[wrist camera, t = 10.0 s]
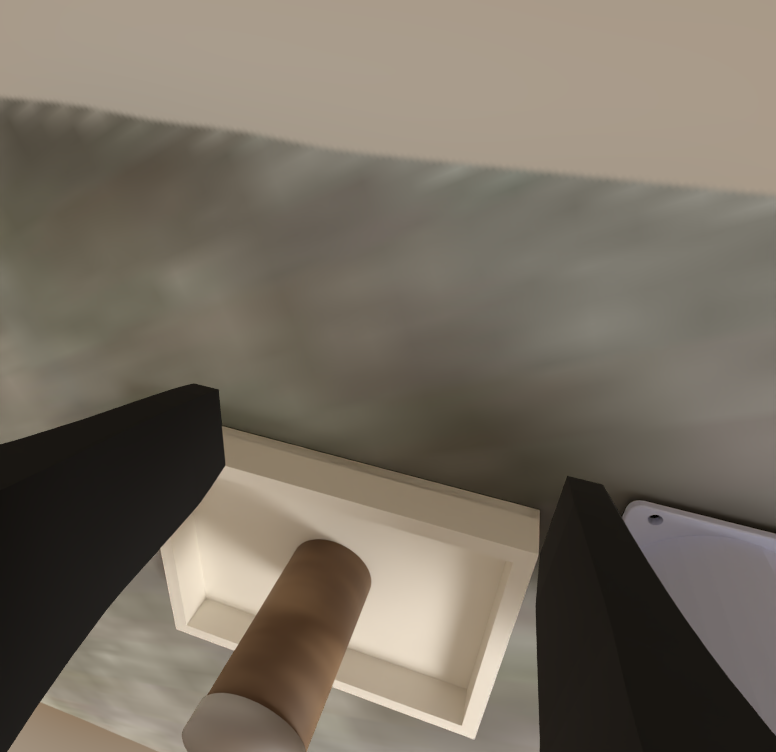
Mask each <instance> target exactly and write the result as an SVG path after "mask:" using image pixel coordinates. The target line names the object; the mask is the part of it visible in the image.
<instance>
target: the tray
mask: <svg viewBox="0 0 776 752" xmlns="http://www.w3.org/2000/svg"><path fill="white" fill-rule="evenodd" d="M222 432H223V443H224V453H225V464H226V465H225V467H224V468H223V470H222V471H221V473H220V475H219V476H218V478H217V479H216V481H215V482H214V484H213V485H212V487H211V488H210V490H209V491H208V493H207V494H206V495H205V497H204V498H203V500H202V501H201V502H200V504H199V505H198V506H197V507H196V509H195V510H194V511H193V512H192V513H191V514H190V515H189V517H188V518H187V519H186V520H185V521H184V522H183V523H182V525H181V526H180V527H179V528H178V529H177V530H176V531H175V533H174V534H173V535H172V536H171V537H170V538H169V539H168V540H167V541H166V543H165V544H164V545H163V546H162V547H161V548H160V550H161V555H162V560H163V565H164V570H165V575H166V580H167V585H168V590H169V595H170V600H171V605H172V610H173V615H174V620H175V625H176V629H177V630H180V631H183V632H185V633H188V634H191V635H193V636H196V637H199V638H202V639H204V640H207V641H210V642H212V643H215V644H218V645H220V646H223V647H226V648H229V649H231V650H235V649H236V647H237V646H238V644H239V642H240V641H241V639H242V637H243V636H244V634H245V632H246V631H247V629H248V628H249V626H250V624H251V623H252V621H253V619H254V618H255V616H256V614H257V613H258V611H259V609H260V608H261V606H262V605H263V603H264V601H265V600H266V598H267V596H268V595H269V593H270V591H271V590H272V588H273V586H274V585H275V583H276V582H277V580H278V578H279V577H280V575H281V573H282V572H283V570H284V568H285V567H286V565H287V564H288V562H289V560H290V559H291V557H292V555H293V554H294V552H295V550H296V549H297V547H298V546H299V545H301V544H302V543H304V542H306V541H309V540H314V539H324V540H329V541H333V542H336V543H339V544H341V545H343V546H345V547H347V548H348V549H350V550H351V551H353V552H354V553H355V554H356V555H358V556H359V557H360V558H361V560H362V561H363V562H364V563H365V565H366V566H367V568H368V570H369V572H370V576H371V588H370V591H369V593H368V596H367V598H366V601H365V604H364V606H363V609H362V611H361V614H360V616H359V619H358V621H357V624H356V627H355V629H354V632H353V634H352V637H351V639H350V642H349V644H348V647H347V649H346V652H345V655H344V657H343V660H342V662H341V665H340V667H339V670H338V672H337V675H336V678H335V680H334V683H333V685H332V687H334V688H337V689H339V690H342V691H345V692H347V693H350V694H353V695H356V696H358V697H361V698H364V699H366V700H369V701H372V702H374V703H377V704H380V705H383V706H385V707H388V708H391V709H393V710H396V711H399V712H401V713H404V714H407V715H410V716H412V717H415V718H418V719H420V720H423V721H426V722H428V723H431V724H434V725H437V726H439V727H442V728H445V729H447V730H450V731H453V732H455V733H458V734H461V735H464V736H466V737H469V738H472V739H475V736H476V733H477V731H478V728H479V725H480V722H481V719H482V716H483V713H484V710H485V708H486V705H487V702H488V699H489V696H490V693H491V690H492V688H493V685H494V682H495V679H496V676H497V673H498V670H499V667H500V665H501V662H502V659H503V656H504V653H505V650H506V647H507V644H508V642H509V639H510V636H511V633H512V630H513V627H514V624H515V621H516V619H517V616H518V613H519V610H520V607H521V604H522V601H523V598H524V596H525V593H526V590H527V587H528V584H529V581H530V578H531V576H532V573H533V570H534V567H535V564H536V561H537V558H538V555H539V524H540V510H538V509H534V508H530V507H526V506H522V505H519V504H515V503H511V502H507V501H504V500H500V499H496V498H492V497H488V496H485V495H481V494H477V493H473V492H470V491H466V490H462V489H458V488H454V487H451V486H447V485H443V484H439V483H436V482H432V481H428V480H424V479H420V478H417V477H413V476H409V475H405V474H402V473H398V472H394V471H390V470H386V469H383V468H379V467H375V466H371V465H368V464H364V463H360V462H356V461H352V460H349V459H345V458H341V457H337V456H334V455H330V454H326V453H322V452H318V451H315V450H311V449H307V448H303V447H300V446H296V445H292V444H288V443H284V442H281V441H277V440H273V439H269V438H265V437H262V436H258V435H254V434H250V433H247V432H243V431H239V430H235V429H231V428H228V427H224V426H222Z"/></svg>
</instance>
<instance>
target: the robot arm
mask: <svg viewBox="0 0 776 752" xmlns="http://www.w3.org/2000/svg"><path fill="white" fill-rule="evenodd" d="M225 465H226V464H225V453H224V443H223V432H222V421H221V411H220V400H219V390H218V389H214V388H210V387H206V386H202V385H198V384H190V385H186V386H182V387H178V388H175V389H172V390H168V391H165V392H162V393H159V394H156V395H153V396H150V397H147V398H144V399H141V400H138V401H135V402H133V403H130V404H127V405H124V406H121V407H118V408H115V409H112V410H109V411H106V412H103V413H100V414H97V415H95V416H92V417H89V418H86V419H83V420H80V421H76V422H73V423H70V424H67V425H64V426H60V427H57V428H54V429H51V430H48V431H44V432H41V433H38V434H35V435H32V436H28V437H25V438H22V439H18V440H15V441H11V442H8V443H4V444H0V752H7V751H8V750H9V748H10V747H11V745H12V743H13V742H14V740H15V739H16V737H17V736H18V734H19V733H20V731H21V730H22V728H23V727H24V725H25V724H26V722H27V720H28V719H29V718H30V716H31V715H32V713H33V711H34V710H35V708H36V707H37V705H38V704H39V703H40V701H41V700H42V698H43V697H44V696H45V694H46V693H47V691H48V690H49V688H50V687H51V686H52V684H53V683H54V681H55V680H56V678H57V677H58V676H59V674H60V673H61V671H62V670H63V668H64V667H65V666H66V664H67V663H68V661H69V660H70V658H71V657H72V656H73V654H74V653H75V652H76V650H77V649H78V648H79V646H80V645H81V643H82V642H83V641H84V639H85V638H86V637H87V635H88V634H89V633H90V631H91V630H92V629H93V627H94V626H95V625H96V623H97V622H98V621H99V619H100V618H101V617H102V615H103V614H104V612H105V611H106V610H107V609H108V607H109V606H110V605H111V604H112V603H113V601H114V600H115V599H116V598H117V597H118V595H119V594H120V593H121V592H122V591H123V589H124V588H125V587H126V586H127V585H128V584H129V583H130V582H131V580H132V579H133V578H134V577H135V576H136V575H137V574H138V573H139V572H140V570H141V569H142V568H143V567H144V566H145V565H146V564H147V563H148V561H149V560H150V559H151V558H152V557H153V556H154V555H155V554H156V553H157V551H158V550H159V549H160V548H161V547H162V546H163V545H164V544H165V543H166V541H167V540H168V539H169V538H170V537H171V536H172V535H173V534H174V533H175V531H176V530H177V529H178V528H179V527H180V526H181V525H182V523H183V522H184V521H185V520H186V519H187V518H188V517H189V515H190V514H191V513H192V512H193V511H194V510H195V509H196V507H197V506H198V505H199V504H200V502H201V501H202V500H203V498H204V497H205V495H206V494H207V493H208V491H209V490H210V488H211V487H212V485H213V484H214V482H215V481H216V479H217V478H218V476H219V475H220V473H221V471H222V470H223V468H224V467H225ZM651 515H659V517H657V518H650V517H649V516H651ZM536 636H537V667H538V697H539V726H540V752H776V534H775V533H771V532H767V531H763V530H759V529H755V528H751V527H747V526H743V525H739V524H735V523H731V522H727V521H723V520H719V519H715V518H711V517H707V516H703V515H699V514H695V513H691V512H687V511H683V510H679V509H675V508H671V507H667V506H663V505H659V504H655V503H651V502H647V501H641V500H638V501H633V502H631V503H629V504H628V506H627V507H626V509H625V512H624V514H623V516H622V517H621V515H620V513H619V512H618V510H617V508H616V506H615V505H614V503H613V501H612V499H611V498H610V496H609V494H608V493H607V491H606V489H605V488H604V486H603V485H601V484H597V483H593V482H589V481H585V480H581V479H577V478H573V477H569V476H567V479H566V482H565V485H564V487H563V490H562V493H561V496H560V499H559V502H558V505H557V507H556V510H555V513H554V516H553V519H552V522H551V525H550V527H549V530H548V533H547V536H546V539H545V542H544V545H543V547H542V550H541V553H540V561H539V572H538V583H537V596H536Z"/></svg>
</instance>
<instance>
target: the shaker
mask: <svg viewBox="0 0 776 752" xmlns="http://www.w3.org/2000/svg"><path fill="white" fill-rule="evenodd" d="M370 588H371V576H370V572H369V570H368V568H367V566H366V565H365V563H364V562H363V561H362V560H361V558H360V557H359V556H358V555H356V554H355V553H354V552H353V551H351V550H350V549H348V548H347V547H345V546H343V545H341V544H339V543H336V542H333V541H329V540H324V539H314V540H309V541H306V542H304V543H302V544H301V545H299V546H298V547H297V549H296V550H295V552H294V554H293V555H292V557H291V559H290V560H289V562H288V564H287V565H286V567H285V568H284V570H283V572H282V573H281V575H280V577H279V578H278V580H277V582H276V583H275V585H274V586H273V588H272V590H271V591H270V593H269V595H268V596H267V598H266V600H265V601H264V603H263V605H262V606H261V608H260V609H259V611H258V613H257V614H256V616H255V618H254V619H253V621H252V623H251V624H250V626H249V628H248V629H247V631H246V632H245V634H244V636H243V637H242V639H241V641H240V642H239V644H238V646H237V647H236V649H235V650H234V652H233V654H232V655H231V657H230V659H229V660H228V662H227V664H226V665H225V667H224V669H223V670H222V672H221V673H220V675H219V677H218V678H217V680H216V682H215V683H214V685H213V687H212V688H211V690H210V692H209V693H208V695H207V696H205V697H204V698H203V699H202V700H201V701H200V703H199V705H198V706H197V708H196V709H195V711H194V713H193V714H192V716H191V718H190V719H189V721H188V722H187V724H186V726H185V727H184V729H183V732H182V740H183V743H184V746H185V748H186V749H187V751H188V752H306V751H307V749H308V746H309V744H310V741H311V739H312V736H313V734H314V731H315V729H316V726H317V723H318V721H319V718H320V716H321V713H322V711H323V708H324V706H325V703H326V700H327V698H328V695H329V693H330V690H331V688H332V685H333V683H334V680H335V678H336V675H337V672H338V670H339V667H340V665H341V662H342V660H343V657H344V655H345V652H346V649H347V647H348V644H349V642H350V639H351V637H352V634H353V632H354V629H355V627H356V624H357V621H358V619H359V616H360V614H361V611H362V609H363V606H364V604H365V601H366V598H367V596H368V593H369V591H370Z"/></svg>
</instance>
